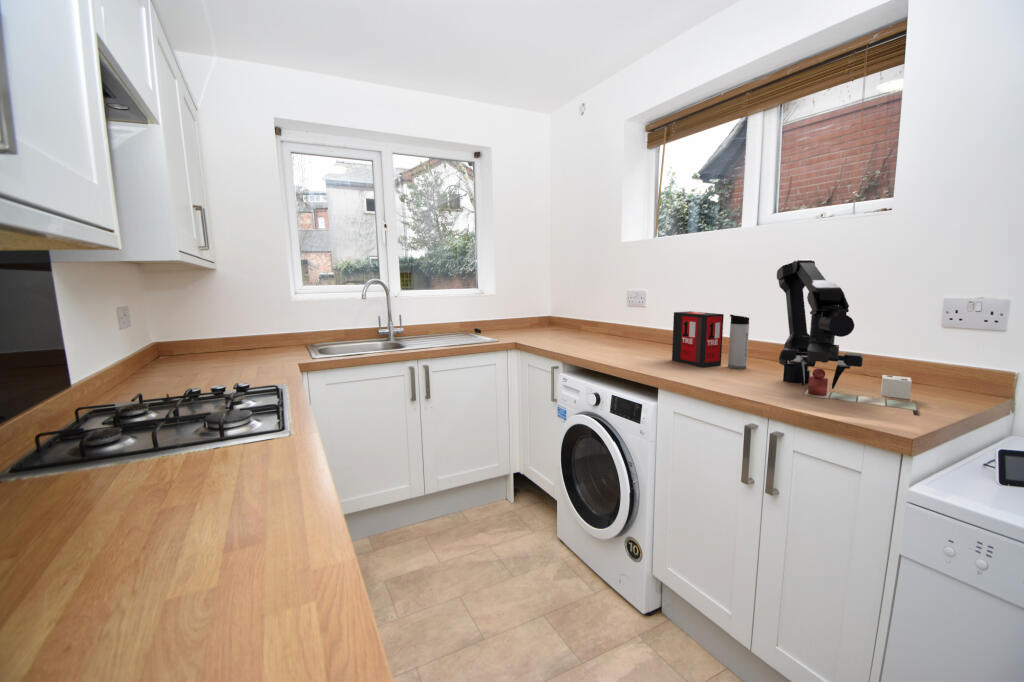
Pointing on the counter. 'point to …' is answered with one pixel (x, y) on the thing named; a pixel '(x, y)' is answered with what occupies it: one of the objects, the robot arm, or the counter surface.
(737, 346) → the travel mug
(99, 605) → the counter surface
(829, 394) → the board
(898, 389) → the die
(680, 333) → the cleaning product box
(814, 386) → the pawn
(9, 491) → the counter surface
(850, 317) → the robot arm
